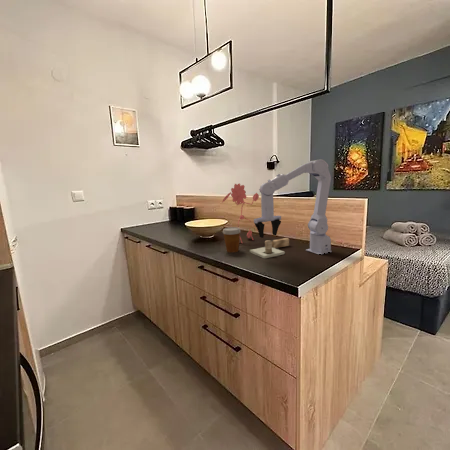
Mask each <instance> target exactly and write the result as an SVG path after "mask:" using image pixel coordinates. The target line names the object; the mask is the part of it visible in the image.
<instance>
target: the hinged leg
mask: <svg viewBox="0 0 450 450" xmlns="http://www.w3.org/2000/svg"><path fill="white" fill-rule="evenodd" d="M271 241H272V247H273V248H275V249H279V248H283V247H290V238H288V237H284V238H278V239H277V238H276V239H271Z"/></svg>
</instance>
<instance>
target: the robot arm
mask: <svg viewBox="0 0 450 450" xmlns="http://www.w3.org/2000/svg"><path fill="white" fill-rule="evenodd" d="M329 166H330V165H329V164H328V162H326V160H324V159H322V158H321V159H320V158H319V159H316V160H310V161H308V162H305V163H303V164H301V165H299V166H297V167H295V168H294V169H293V170H291V171H289V172H287V173H286V174H285V173H277V174H276V176H275V177H273V178H272V179H268V180H267V182H263V183H261V185H260V187H259V189H258V190H259V193H260V197H261V199H260V205H261V207H260V208H261V209H260V211H261V217H257V218H253V224H254V226H255V227H256V230H257V231H258V234H259V238H260V239H262V238H264V237H265V235H264V230H265V223H267V222H270V223H271V229H272V231H271V232H272V235H273V236H277V234H278V230H279V227H280V225H281V223H282V215H275V214H274V213H275V209H274V194H275V192H276V191H278V190H281V189H282V188H284V187H286V186H287V185H288V184H289V181H291V180H292V179H295V178H296V177H298V176H301V175H303V174H304V173H305V174H309V175H311V176H313V177H314V178H315V179H316V180H317V181H318V182H317V189H316V195H315V201H314V202H315V203H314V207H313V208H314V209H313V213H312V214H311V216H310V219H309V221H308V222H307V228H308V230H309V248H307V249H305V251H306V252H310V253H314V254H317V255H319V254H321V255H324V253H325V254H329V253H328V252H330V253H332V245H331V244H332V239H331V237H330V236H329V235H327V234H326V233H327V232H328V230H329V225H328V218H327V216H326V213H327V211H326V210H327V206H328V200H329V193H330V188H331V181H332V176H331V173H330V169H329Z"/></svg>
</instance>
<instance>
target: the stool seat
mask: <svg viewBox="0 0 450 450" xmlns="http://www.w3.org/2000/svg"><path fill="white" fill-rule="evenodd" d="M249 253H250V254H253V255H255V256H257V257H260V258H261V259H268V258H273V257H279V256H281V255H282V256H283V255H285V253H286V252H285V251H284V250H281V249H279V248H273V247H272V254H268V255H267V254H265V246H263V247H257V248H253V249H249Z"/></svg>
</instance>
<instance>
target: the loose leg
mask: <svg viewBox="0 0 450 450" xmlns="http://www.w3.org/2000/svg"><path fill="white" fill-rule="evenodd" d="M271 240H272V239H271ZM271 240H270V239H269V240H265V241H264V247H265V254H267V255H268V254H272V241H271Z"/></svg>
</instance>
